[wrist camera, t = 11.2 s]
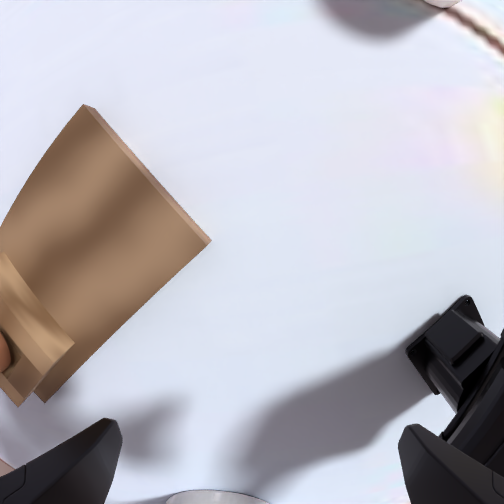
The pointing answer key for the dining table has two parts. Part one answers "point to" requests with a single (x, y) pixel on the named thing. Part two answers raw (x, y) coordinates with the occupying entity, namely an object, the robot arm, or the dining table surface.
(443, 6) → the white cup
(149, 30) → the dining table surface
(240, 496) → the utensil holder
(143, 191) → the wooden socket base
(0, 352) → the plug
